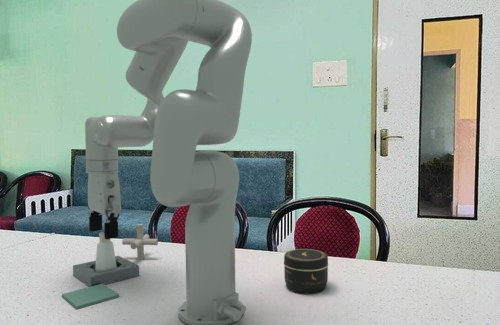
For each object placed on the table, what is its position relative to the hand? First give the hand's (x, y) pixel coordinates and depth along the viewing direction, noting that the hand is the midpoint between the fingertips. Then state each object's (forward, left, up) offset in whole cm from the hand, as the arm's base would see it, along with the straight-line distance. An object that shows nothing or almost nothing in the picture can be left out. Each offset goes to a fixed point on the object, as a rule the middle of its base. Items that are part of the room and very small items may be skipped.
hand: (103, 234), depth 98 cm
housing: (-1, 0, -11) cm, 11 cm away
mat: (-12, +8, -11) cm, 18 cm away
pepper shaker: (-1, 0, -11) cm, 11 cm away
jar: (-41, -30, -11) cm, 52 cm away
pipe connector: (+6, -13, -11) cm, 18 cm away
